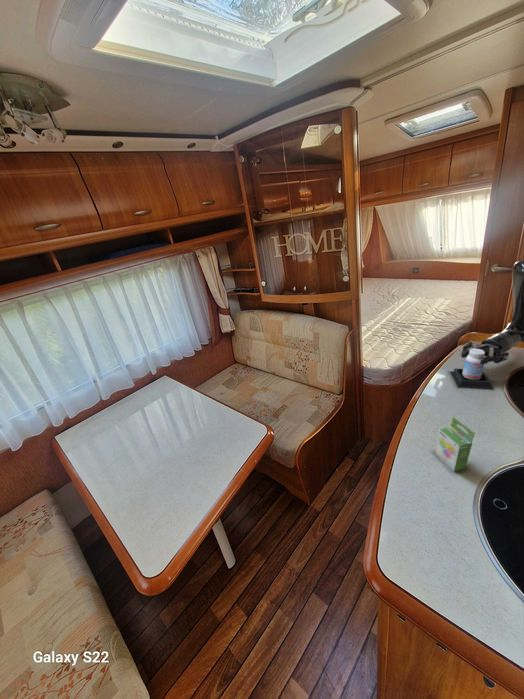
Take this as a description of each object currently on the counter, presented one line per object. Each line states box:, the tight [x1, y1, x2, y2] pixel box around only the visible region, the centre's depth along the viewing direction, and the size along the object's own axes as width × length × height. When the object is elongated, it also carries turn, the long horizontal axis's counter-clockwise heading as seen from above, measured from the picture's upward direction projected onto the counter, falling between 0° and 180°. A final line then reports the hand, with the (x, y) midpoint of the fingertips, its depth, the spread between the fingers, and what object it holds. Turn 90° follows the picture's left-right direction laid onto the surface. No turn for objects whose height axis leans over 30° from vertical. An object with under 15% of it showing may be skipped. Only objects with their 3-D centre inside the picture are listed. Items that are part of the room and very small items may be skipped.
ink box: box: [435, 416, 476, 473], centre depth 75 cm, size 7×4×13 cm, turn 10°
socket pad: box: [449, 368, 494, 390], centre depth 107 cm, size 11×11×3 cm
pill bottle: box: [462, 349, 485, 380], centre depth 105 cm, size 6×6×11 cm
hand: (472, 358), depth 102 cm, fingers closed on pill bottle, 6 cm apart
